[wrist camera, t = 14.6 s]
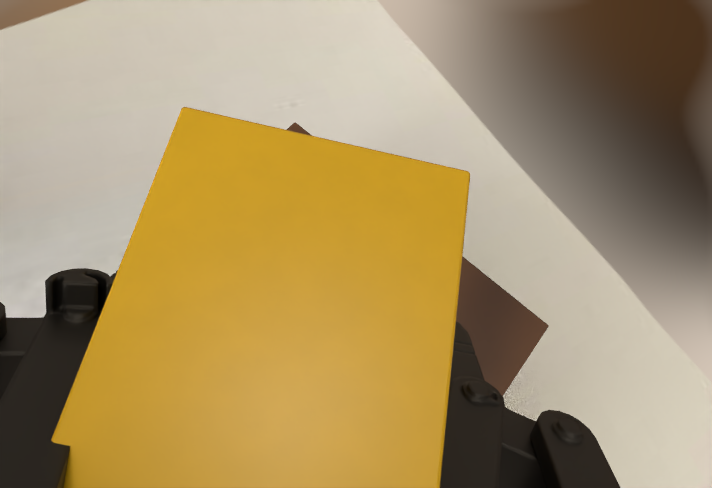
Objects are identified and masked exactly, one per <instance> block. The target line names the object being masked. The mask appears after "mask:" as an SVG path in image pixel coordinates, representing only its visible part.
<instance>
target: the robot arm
mask: <svg viewBox="0 0 712 488" xmlns="http://www.w3.org/2000/svg"><path fill="white" fill-rule="evenodd" d="M117 272H118V270H117V271H116V273H114V274H113V275H112V276H111V277H110V276H109V275H108V274H106V273H104V272H101V271H99V270H93V269H70V270H65V271H60V272H58V273H56V274H53V275H51V276H50V277H49V278H48V279H47V280H46V281H45V287H46V315H45V317H44V318H6V313H5V306H4V305H3V304H2V303H1V302H0V488H64V482H65V476H66V470H67V464H68V458H69V451H70V446H68V445H63V444H57V443H54V442H52V441H51V439H52V437H53V434H54V431H55V429H56V426H57V424H58V421H59V419H60V416H61V414H62V411H63V409H64V406H65V404H66V401H67V398H68V396H69V393H70V391H71V388H72V386H73V383H74V381H75V378H76V376H77V373H78V371H79V368H80V365H81V363H82V360H83V358H84V355H85V353H86V350H87V348H88V345H89V343H90V340H91V338H92V335H93V333H94V330H95V327H96V325H97V322H98V320H99V317H100V315H101V312H102V310H103V307H104V305H105V302H106V300H107V297H108V294H109V292H110V289H111V287H112V284H113V282H114V279H115V277H116V274H117ZM504 406H505V404H504V399H503V397H502V395H501V394H500V392H499V391H498V390H497V389H496V388H495V387H493V386H492V385H491V384H490V383H488V382H486V381H485V380H484V377H483V374H482V371H481V368H480V365H479V362H478V359H477V356H476V355H475V350H474V347H473V346H472V341H471V338H470V335H469V333H468V332H467V331H466V329H465V328H464V327H463V326H462V325H461V324H460V323H459V322H456V326H455V336H454V346H453V357H452V367H451V377H450V387H449V398H448V408H447V418H446V429H445V439H444V449H443V459H442V470H441V480H440V488H620V486H619V484H618V482H617V480H616V478H615V476H614V474H613V472H612V470H611V468H610V466H609V464H608V462H607V460H606V458H605V456H604V454H603V452H602V450H601V448H600V446H599V444H598V441H597V439H596V438H595V436H594V435H593V433H592V432H591V431H590V429H589V428H587V427H586V426H585V425H584V424H583V423H582V422H581V421H579V420H578V419H576V418H574V417H573V416H571V415H569V414H566V413H563V412H560V411H554V410H548V411H544V412H542V413H541V414H540V416H539V417H538V419H537V421H534V420H531V419H529V418H527V417H524V416H522V415H520V414H517V413H515V412H513V411H511V410H509V409H507V408H506V407H504Z"/></svg>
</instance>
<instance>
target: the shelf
mask: <svg viewBox="0 0 712 488" xmlns="http://www.w3.org/2000/svg"><path fill="white" fill-rule="evenodd" d="M287 130H288V131H293V132H297V133H301V134H306V135H310V134H309V133H308V132H307V131H305V130H304V129H303V128H302V127H300V126H299V125H298V124H297V123H294V124H293V125H291V126H290V127H289V128H288V129H287ZM310 136H312V135H310ZM456 322H459V323H460V324H461V325H462V326H463V327H464V328H465V329H466V331H467V332H468V333H469V335H470V338H471V341H472V346H473V347H474V350H475V355H476V356H477V359H478V362H479V365H480V368H481V371H482V374H483V377H484V380H485V381H486V382H488V383H490V384H491V385H492V386H493V387H495V388H496V389H497V390H498V391H499V392H500V394H501V395H502V396H503V395H504V393H505V392H506V390H507V389H508V387H509V386H510V384H511V383H512V381H513V380H514V378H515V377H516V375H517V374H518V372H519V371H520V369H521V367H522V366H523V364H524V363H525V361H526V360H527V358H528V357H529V355H530V354H531V352H532V351H533V349H534V348H535V346H536V345H537V343H538V342H539V340H540V339H541V337H542V336H543V334H544V332H545V331H546V329H547V328H548V325H547V324H546V323H545V322H543V321H542V320H541V319H540V318H538V317H537V316H536V315H535V314H533V313H532V312H531V311H530V310H528V309H527V308H526V307H525V306H524V305H522V304H521V303H520V302H519V301H517V300H516V299H515V298H514V297H512V296H511V295H510V294H509V293H507V292H506V291H505V290H504V289H502V288H501V287H500V286H499V285H497V284H496V283H495V282H494V281H492V280H491V279H490V278H489V277H487V276H486V275H485V274H484V273H482V272H481V271H480V270H479V269H477V268H476V267H475V266H474V265H472V264H471V263H470V262H469V261H467V260H466V259H465V258H464V257H462V264H461V274H460V285H459V295H458V305H457V315H456Z"/></svg>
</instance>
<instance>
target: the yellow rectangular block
mask: <svg viewBox="0 0 712 488" xmlns="http://www.w3.org/2000/svg"><path fill="white" fill-rule="evenodd" d="M469 182H470V173H469V172H468V171H464V170H460V169H455V168H451V167H446V166H442V165H438V164H433V163H429V162H424V161H420V160H416V159H411V158H407V157H402V156H398V155H394V154H389V153H385V152H380V151H376V150H372V149H367V148H363V147H359V146H354V145H350V144H345V143H341V142H337V141H332V140H328V139H323V138H319V137H315V136H310V135H306V134H301V133H297V132H293V131H288V130H284V129H279V128H275V127H271V126H266V125H262V124H258V123H253V122H249V121H244V120H240V119H236V118H231V117H227V116H222V115H218V114H214V113H209V112H205V111H200V110H196V109H192V108H187V107H183V108H182V109H181V112H180V114H179V117H178V119H177V122H176V125H175V127H174V130H173V132H172V135H171V137H170V140H169V142H168V145H167V147H166V150H165V152H164V155H163V158H162V160H161V163H160V165H159V168H158V170H157V173H156V175H155V178H154V180H153V183H152V185H151V188H150V190H149V193H148V196H147V198H146V201H145V203H144V206H143V208H142V211H141V213H140V216H139V218H138V221H137V223H136V226H135V229H134V231H133V234H132V236H131V239H130V241H129V244H128V246H127V249H126V251H125V254H124V256H123V259H122V262H121V264H120V267H119V269H118V272H117V274H116V277H115V279H114V282H113V284H112V287H111V289H110V292H109V294H108V297H107V300H106V302H105V305H104V307H103V310H102V312H101V315H100V317H99V320H98V322H97V325H96V327H95V330H94V333H93V335H92V338H91V340H90V343H89V345H88V348H87V350H86V353H85V355H84V358H83V360H82V363H81V365H80V368H79V371H78V373H77V376H76V378H75V381H74V383H73V386H72V388H71V391H70V393H69V396H68V398H67V401H66V404H65V406H64V409H63V411H62V414H61V416H60V419H59V421H58V424H57V426H56V429H55V431H54V434H53V437H52V439H51V441H52V442H54V443H57V444H63V445H68V446H70V451H69V458H68V464H67V470H66V476H65V482H64V488H440V480H441V470H442V459H443V449H444V439H445V429H446V418H447V408H448V398H449V387H450V377H451V367H452V357H453V346H454V336H455V326H456V315H457V305H458V295H459V285H460V274H461V264H462V254H463V243H464V233H465V223H466V213H467V202H468V192H469Z"/></svg>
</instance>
